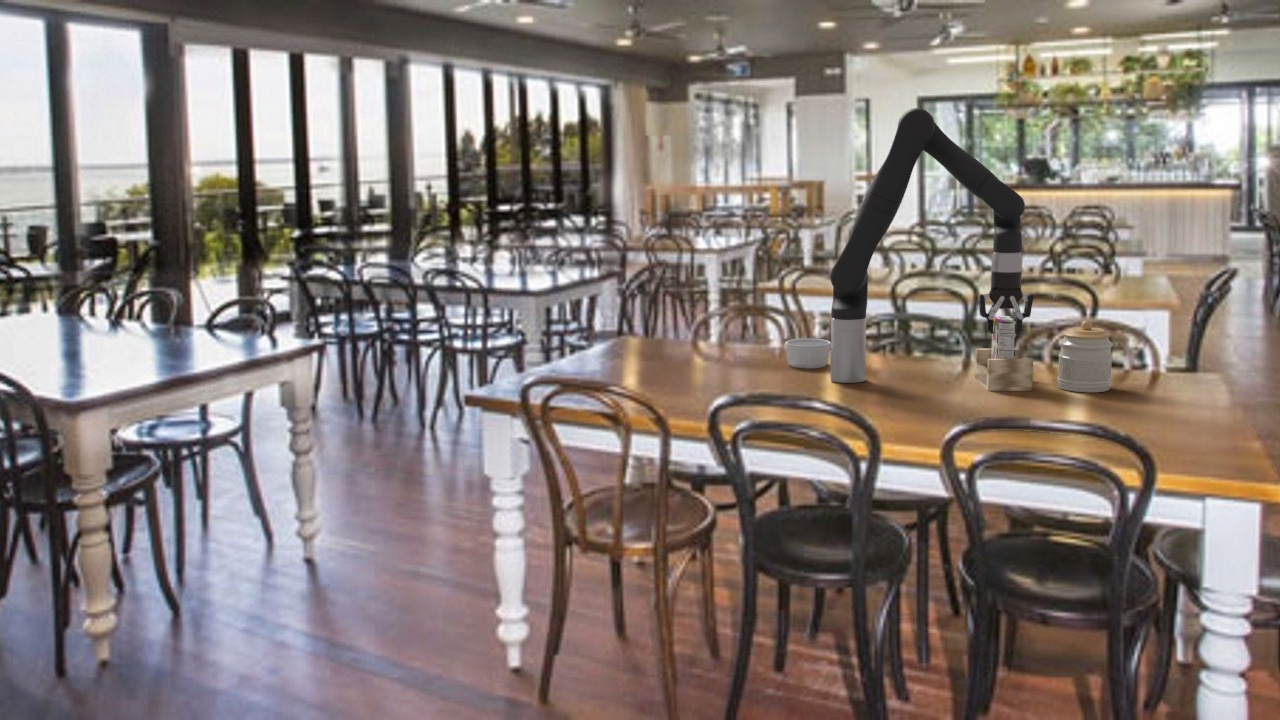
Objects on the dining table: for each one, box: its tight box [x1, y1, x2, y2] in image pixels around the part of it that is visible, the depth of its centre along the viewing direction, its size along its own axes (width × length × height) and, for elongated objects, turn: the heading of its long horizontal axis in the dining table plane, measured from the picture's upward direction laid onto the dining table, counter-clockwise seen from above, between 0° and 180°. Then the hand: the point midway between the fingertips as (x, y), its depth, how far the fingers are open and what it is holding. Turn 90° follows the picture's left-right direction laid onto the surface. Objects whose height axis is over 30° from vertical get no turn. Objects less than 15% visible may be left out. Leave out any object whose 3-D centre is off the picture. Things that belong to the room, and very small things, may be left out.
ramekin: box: [784, 338, 831, 369], centre depth 335 cm, size 13×13×7 cm
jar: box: [1056, 320, 1114, 393], centre depth 293 cm, size 13×13×18 cm
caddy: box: [974, 347, 1034, 392], centre depth 302 cm, size 11×18×8 cm, turn 174°
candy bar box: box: [991, 315, 1017, 359], centre depth 301 cm, size 11×5×16 cm, turn 170°
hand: (1004, 333), depth 300 cm, fingers open, 6 cm apart
